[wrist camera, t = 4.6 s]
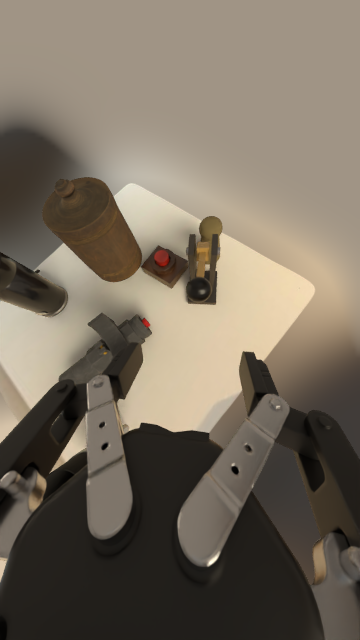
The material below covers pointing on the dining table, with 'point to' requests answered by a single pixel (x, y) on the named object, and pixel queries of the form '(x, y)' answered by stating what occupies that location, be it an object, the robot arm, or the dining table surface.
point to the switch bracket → (209, 275)
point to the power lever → (200, 276)
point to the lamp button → (162, 258)
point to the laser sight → (106, 346)
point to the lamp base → (165, 268)
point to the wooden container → (93, 227)
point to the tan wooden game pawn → (210, 232)
